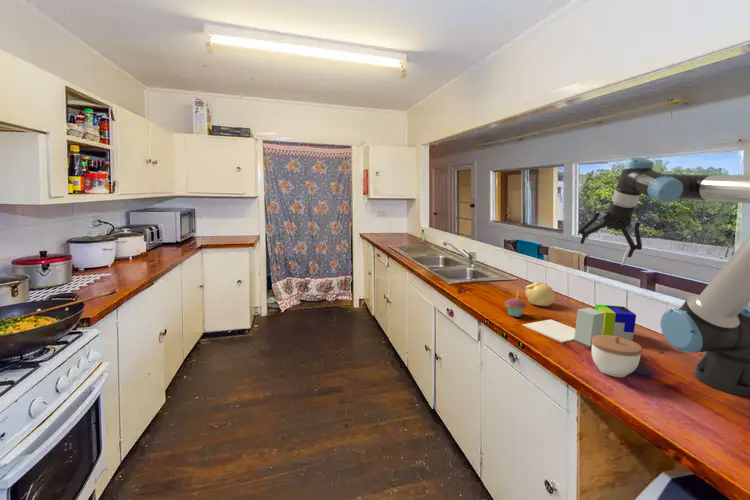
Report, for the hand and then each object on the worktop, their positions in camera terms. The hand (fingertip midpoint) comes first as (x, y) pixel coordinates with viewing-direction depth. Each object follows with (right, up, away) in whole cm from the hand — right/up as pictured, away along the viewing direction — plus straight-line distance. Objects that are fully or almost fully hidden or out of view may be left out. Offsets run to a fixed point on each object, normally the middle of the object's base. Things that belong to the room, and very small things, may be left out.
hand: (601, 257), depth 140 cm
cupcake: (-24, -25, +23) cm, 42 cm away
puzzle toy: (+6, -29, +4) cm, 30 cm away
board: (-14, -28, +6) cm, 32 cm away
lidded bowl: (-12, -34, -26) cm, 44 cm away
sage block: (-8, -30, -5) cm, 32 cm away
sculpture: (-6, -23, +40) cm, 46 cm away
